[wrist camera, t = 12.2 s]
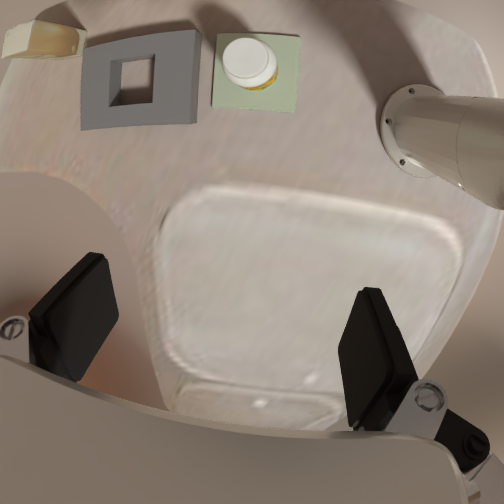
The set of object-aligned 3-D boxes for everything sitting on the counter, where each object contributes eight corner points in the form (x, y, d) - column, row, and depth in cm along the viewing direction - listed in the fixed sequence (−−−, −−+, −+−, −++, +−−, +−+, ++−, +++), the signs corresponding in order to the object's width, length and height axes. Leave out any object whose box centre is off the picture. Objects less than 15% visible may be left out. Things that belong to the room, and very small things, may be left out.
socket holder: (202, 34, 28) (195, 29, 25) (196, 122, 33) (189, 124, 31) (95, 50, 29) (83, 48, 26) (92, 128, 34) (80, 130, 32)
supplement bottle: (279, 52, 28) (279, 32, 19) (276, 93, 30) (274, 86, 22) (234, 50, 28) (217, 30, 20) (231, 90, 31) (212, 83, 22)
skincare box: (54, 60, 29) (-2, 60, 18) (59, 35, 27) (4, 30, 16) (83, 55, 29) (26, 51, 18) (89, 29, 27) (33, 18, 16)
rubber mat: (300, 38, 27) (301, 37, 27) (294, 113, 32) (295, 113, 31) (218, 34, 28) (217, 33, 27) (212, 107, 32) (212, 107, 32)
